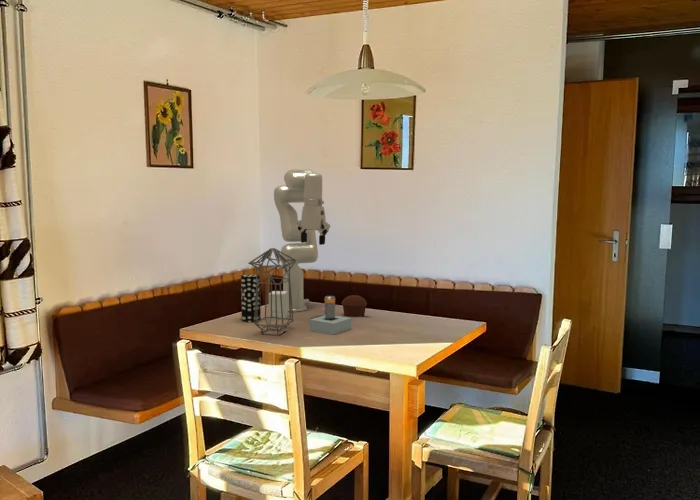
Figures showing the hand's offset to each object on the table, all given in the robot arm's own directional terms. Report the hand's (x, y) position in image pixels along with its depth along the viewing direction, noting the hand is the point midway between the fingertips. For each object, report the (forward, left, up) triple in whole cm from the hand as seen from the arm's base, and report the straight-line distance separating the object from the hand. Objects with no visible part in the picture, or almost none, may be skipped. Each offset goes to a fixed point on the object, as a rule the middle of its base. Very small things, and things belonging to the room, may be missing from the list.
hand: (312, 243), depth 274 cm
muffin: (-22, +6, -35) cm, 42 cm away
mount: (0, +5, -35) cm, 35 cm away
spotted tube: (+9, -28, -35) cm, 46 cm away
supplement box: (+2, -18, -35) cm, 40 cm away
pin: (+8, +15, -34) cm, 38 cm away
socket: (+8, +15, -35) cm, 39 cm away
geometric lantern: (+22, -3, -35) cm, 42 cm away
